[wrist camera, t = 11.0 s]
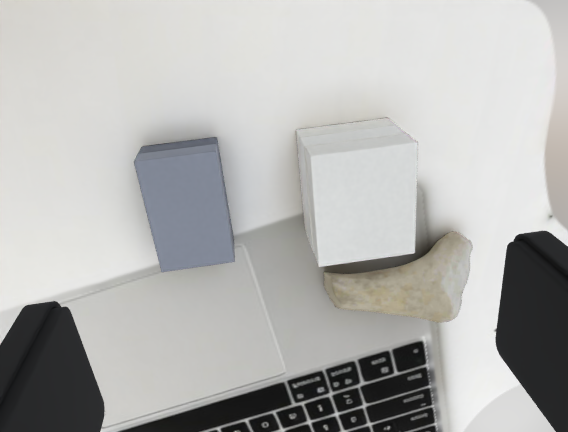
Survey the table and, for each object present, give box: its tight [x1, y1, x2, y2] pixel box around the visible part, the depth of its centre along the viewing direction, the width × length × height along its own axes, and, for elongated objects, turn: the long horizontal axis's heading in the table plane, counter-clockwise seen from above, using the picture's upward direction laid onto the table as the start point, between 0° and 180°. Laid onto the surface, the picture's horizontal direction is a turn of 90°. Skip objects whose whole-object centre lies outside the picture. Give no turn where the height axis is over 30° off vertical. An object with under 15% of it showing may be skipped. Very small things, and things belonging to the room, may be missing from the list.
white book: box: [306, 134, 418, 267], centre depth 30 cm, size 8×6×2 cm
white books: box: [296, 118, 406, 252], centre depth 33 cm, size 8×6×4 cm
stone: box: [324, 231, 472, 323], centre depth 37 cm, size 11×6×5 cm, turn 106°
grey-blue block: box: [134, 137, 235, 272], centre depth 32 cm, size 8×5×3 cm, turn 5°
